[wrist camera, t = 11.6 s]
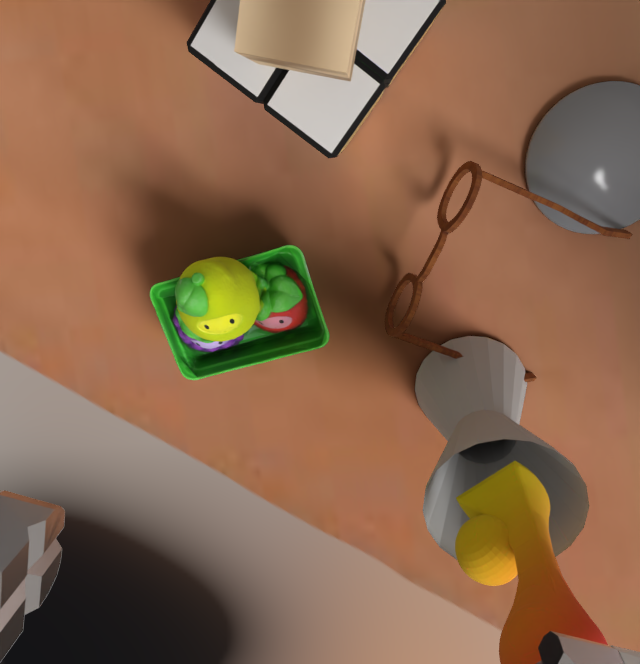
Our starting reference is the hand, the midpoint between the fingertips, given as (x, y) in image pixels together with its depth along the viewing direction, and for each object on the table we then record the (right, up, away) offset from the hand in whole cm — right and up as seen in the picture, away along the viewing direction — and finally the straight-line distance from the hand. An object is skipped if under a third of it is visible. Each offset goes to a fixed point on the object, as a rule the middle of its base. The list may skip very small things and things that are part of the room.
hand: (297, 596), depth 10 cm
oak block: (0, +20, +21) cm, 29 cm away
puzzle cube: (+1, +24, +31) cm, 39 cm away
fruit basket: (-5, +8, +37) cm, 38 cm away
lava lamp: (+12, 0, +37) cm, 39 cm away
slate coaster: (+20, +16, +31) cm, 40 cm away
